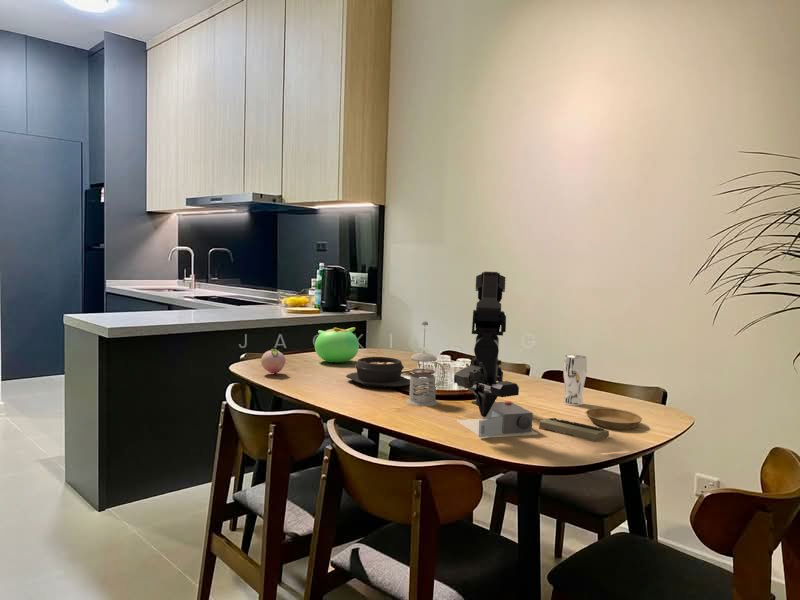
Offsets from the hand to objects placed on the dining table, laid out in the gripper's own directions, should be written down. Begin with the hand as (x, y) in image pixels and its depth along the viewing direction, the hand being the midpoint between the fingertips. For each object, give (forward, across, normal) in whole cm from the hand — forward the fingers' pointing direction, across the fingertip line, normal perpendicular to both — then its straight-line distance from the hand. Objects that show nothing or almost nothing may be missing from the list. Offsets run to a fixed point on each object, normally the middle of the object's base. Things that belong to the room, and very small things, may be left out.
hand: (483, 416), depth 150 cm
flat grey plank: (+5, +10, +22) cm, 25 cm away
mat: (+4, -2, +6) cm, 8 cm away
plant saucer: (+5, +9, +40) cm, 41 cm away
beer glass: (+5, -12, +47) cm, 49 cm away
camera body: (+4, -1, +9) cm, 10 cm away
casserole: (+5, -61, +6) cm, 62 cm away
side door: (+4, +4, -1) cm, 5 cm away
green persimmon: (+5, -104, +11) cm, 105 cm away
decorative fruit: (+5, -90, -22) cm, 93 cm away
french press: (+5, -33, +5) cm, 34 cm away
